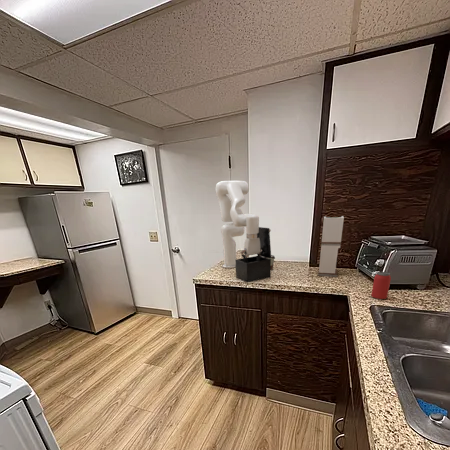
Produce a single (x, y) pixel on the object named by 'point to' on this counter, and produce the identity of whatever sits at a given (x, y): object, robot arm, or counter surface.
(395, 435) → the counter surface
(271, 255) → the food container
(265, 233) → the black box lid
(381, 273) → the beer can
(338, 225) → the stepped grey pillar
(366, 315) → the counter surface
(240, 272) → the black lidded box
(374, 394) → the counter surface
